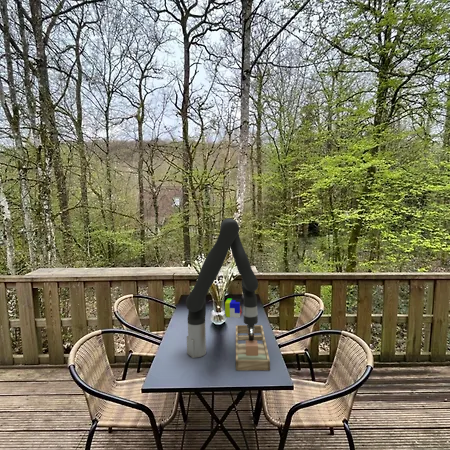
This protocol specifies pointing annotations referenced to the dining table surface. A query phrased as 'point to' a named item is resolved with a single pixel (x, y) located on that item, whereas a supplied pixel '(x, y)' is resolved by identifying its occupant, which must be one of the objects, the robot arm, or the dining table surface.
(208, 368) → the dining table surface
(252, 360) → the trap lane
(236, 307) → the puzzle toy
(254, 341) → the block
